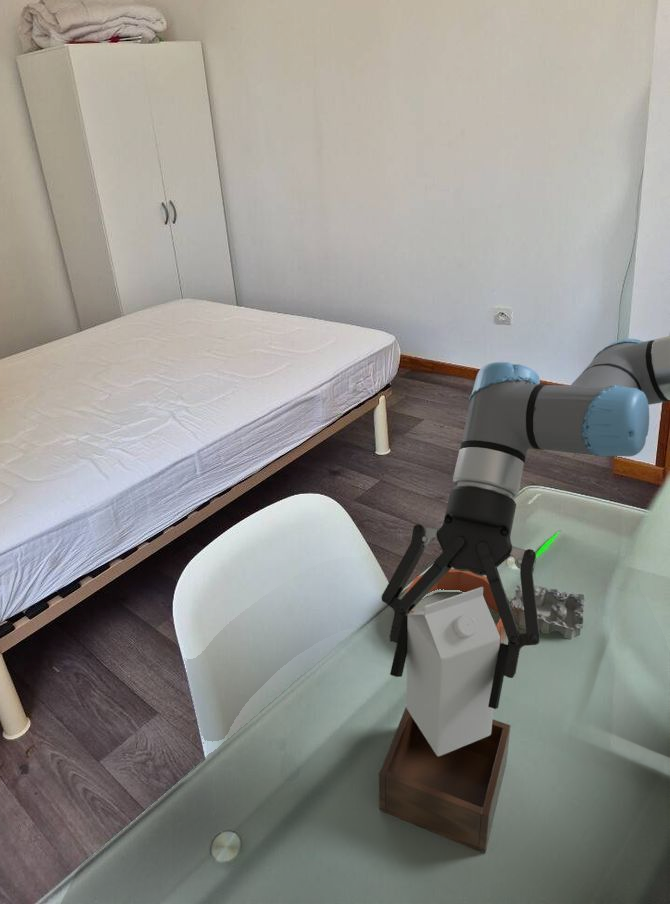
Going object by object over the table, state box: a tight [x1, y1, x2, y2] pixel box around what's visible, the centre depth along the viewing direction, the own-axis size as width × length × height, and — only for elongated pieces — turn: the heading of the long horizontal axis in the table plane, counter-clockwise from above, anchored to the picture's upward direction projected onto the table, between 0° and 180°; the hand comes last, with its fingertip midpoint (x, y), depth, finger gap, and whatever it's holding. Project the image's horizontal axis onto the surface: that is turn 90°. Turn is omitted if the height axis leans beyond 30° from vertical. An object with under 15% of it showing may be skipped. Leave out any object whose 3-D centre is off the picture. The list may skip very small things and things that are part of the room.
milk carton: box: [405, 587, 500, 756], centre depth 76 cm, size 7×7×19 cm
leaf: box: [535, 529, 562, 558], centre depth 124 cm, size 1×14×1 cm, turn 136°
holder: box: [378, 707, 512, 854], centre depth 83 cm, size 13×13×7 cm
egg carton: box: [510, 583, 585, 640], centre depth 108 cm, size 11×8×4 cm
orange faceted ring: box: [404, 568, 507, 647], centre depth 108 cm, size 16×16×4 cm
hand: (443, 691), depth 74 cm, fingers closed on milk carton, 10 cm apart
